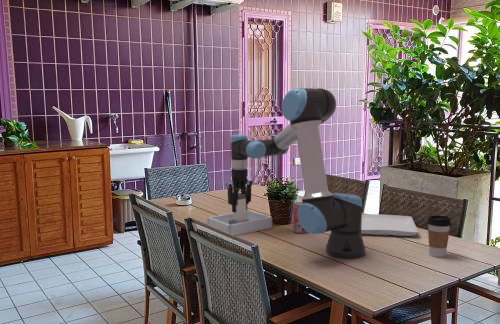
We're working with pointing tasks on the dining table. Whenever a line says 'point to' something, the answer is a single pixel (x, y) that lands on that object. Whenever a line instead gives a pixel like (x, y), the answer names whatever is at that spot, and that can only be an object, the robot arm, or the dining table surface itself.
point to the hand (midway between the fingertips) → (239, 218)
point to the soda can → (296, 224)
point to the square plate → (388, 225)
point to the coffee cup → (438, 235)
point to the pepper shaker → (241, 207)
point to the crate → (241, 223)
